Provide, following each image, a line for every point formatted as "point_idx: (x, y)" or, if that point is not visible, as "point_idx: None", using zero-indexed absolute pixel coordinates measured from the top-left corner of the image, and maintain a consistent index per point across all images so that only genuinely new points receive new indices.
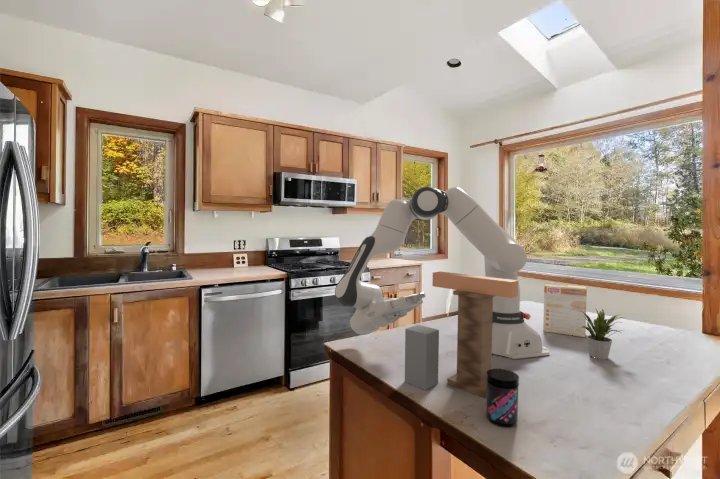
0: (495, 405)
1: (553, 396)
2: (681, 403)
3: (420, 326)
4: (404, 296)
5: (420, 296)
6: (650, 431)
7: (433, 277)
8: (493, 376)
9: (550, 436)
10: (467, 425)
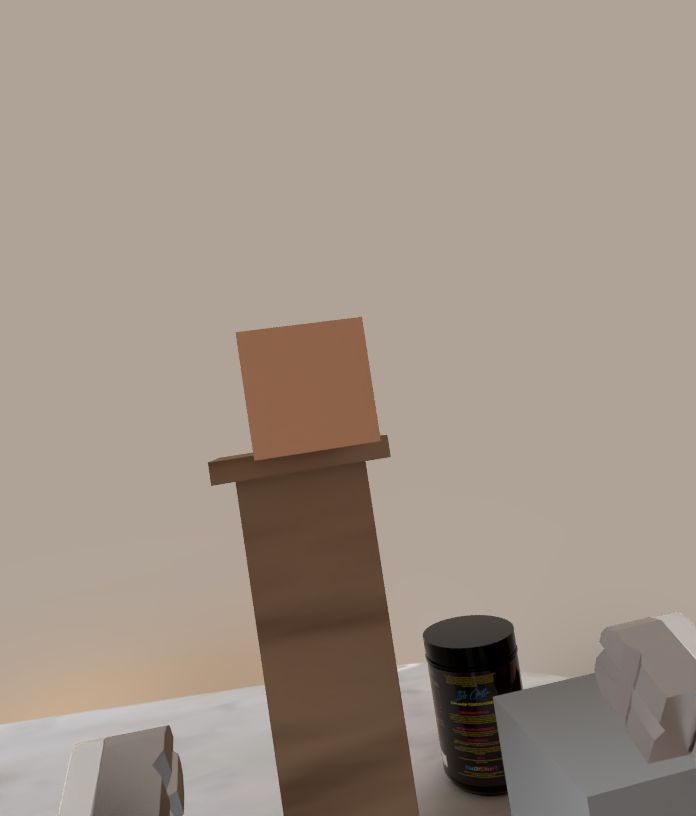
0: None
1: (211, 803)
2: (47, 720)
3: (591, 759)
4: (637, 621)
5: (172, 811)
6: (242, 692)
7: (367, 361)
8: (504, 627)
9: (435, 716)
10: None
